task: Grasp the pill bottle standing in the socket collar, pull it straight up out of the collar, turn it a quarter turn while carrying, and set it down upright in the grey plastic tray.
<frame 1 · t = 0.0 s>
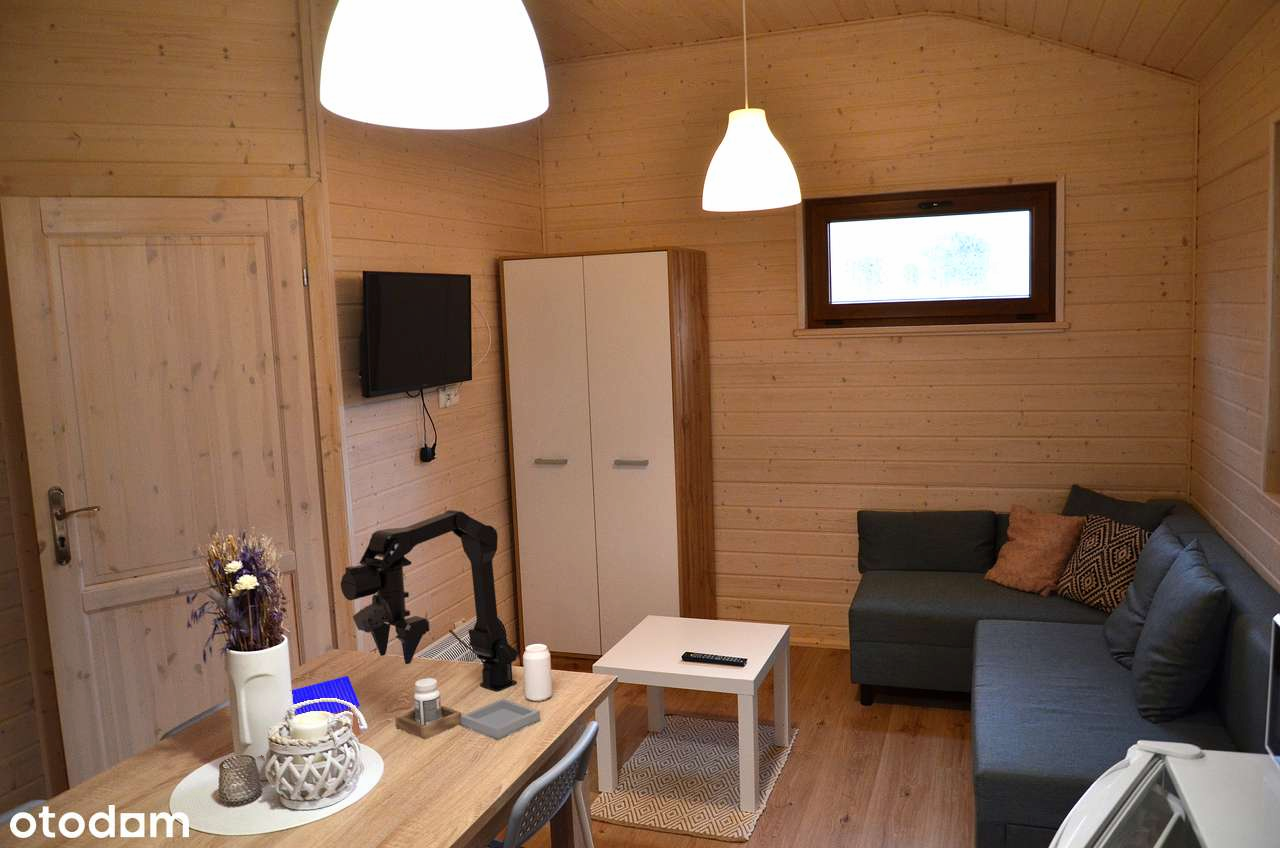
hand: (395, 659, 215), 15 cm above the table, tool pointing down, fingers open, 9 cm apart
tray: (500, 723, 214), on the table
socket collar: (429, 725, 215), on the table
beverage can: (538, 698, 228), on the table
blue ribbed roof: (306, 741, 210), on the table
pill bottle: (429, 727, 215), resting in socket collar
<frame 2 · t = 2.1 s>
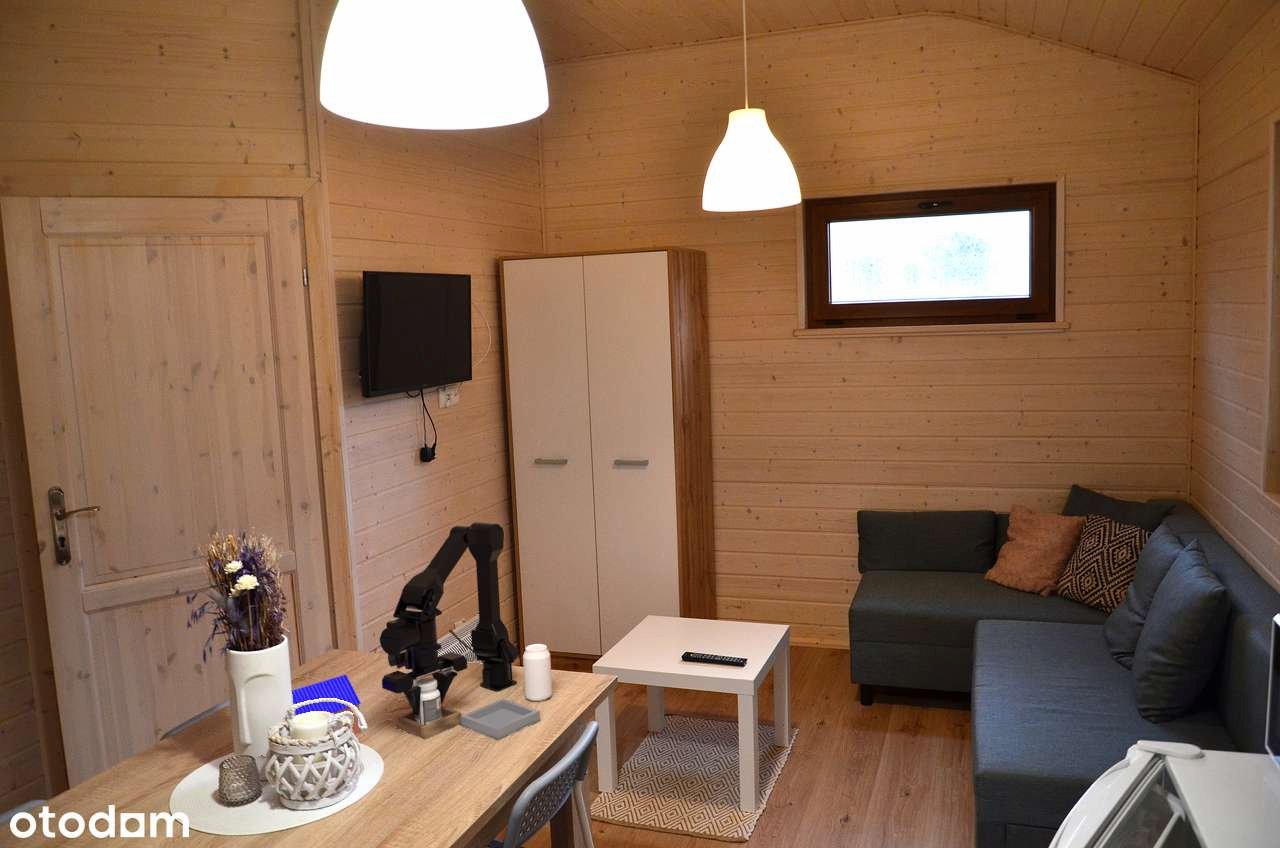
hand: (428, 710, 214), 4 cm above the table, tool pointing down, fingers closed on pill bottle, 6 cm apart
pill bottle: (429, 726, 215), resting in socket collar, touching gripper
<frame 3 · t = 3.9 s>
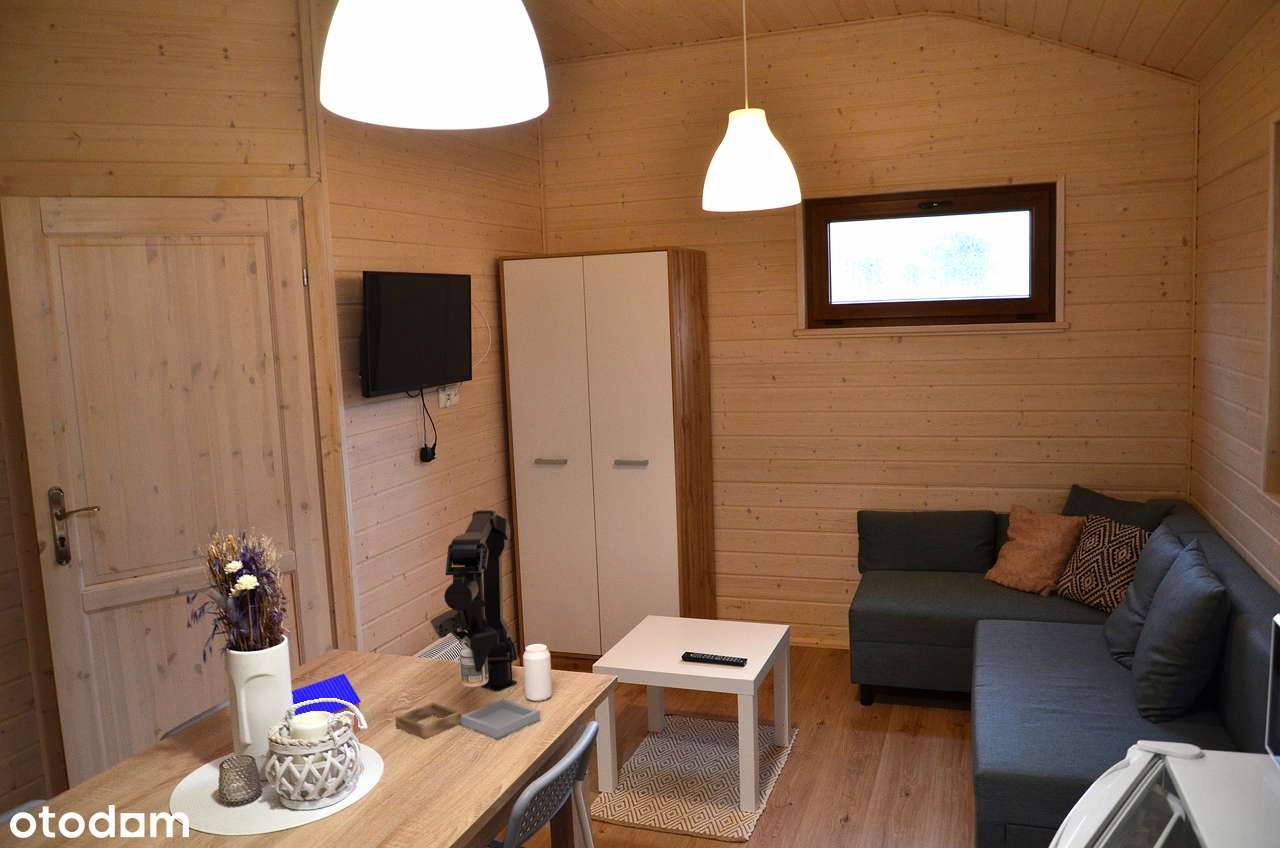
hand: (474, 667, 213), 13 cm above the table, tool pointing down, fingers closed on pill bottle, 6 cm apart
pill bottle: (475, 683, 214), point 9 cm above the table, touching gripper
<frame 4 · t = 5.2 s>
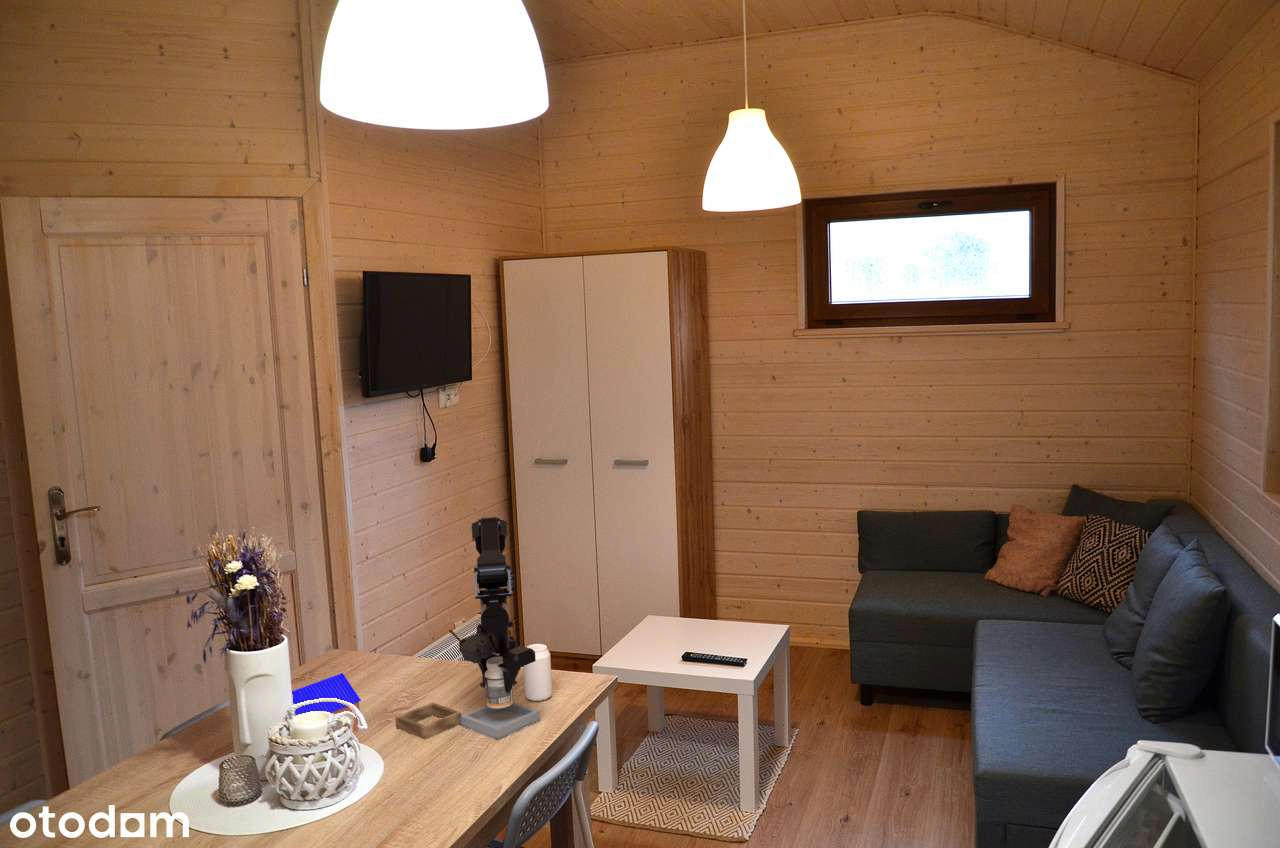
hand: (498, 688, 214), 8 cm above the table, tool pointing down, fingers closed on pill bottle, 6 cm apart
pill bottle: (500, 705, 214), point 4 cm above the table, touching gripper
when the fingers open (5 cm above the table, at t = 6.1 s): pill bottle drops 1 cm, resting on tray.
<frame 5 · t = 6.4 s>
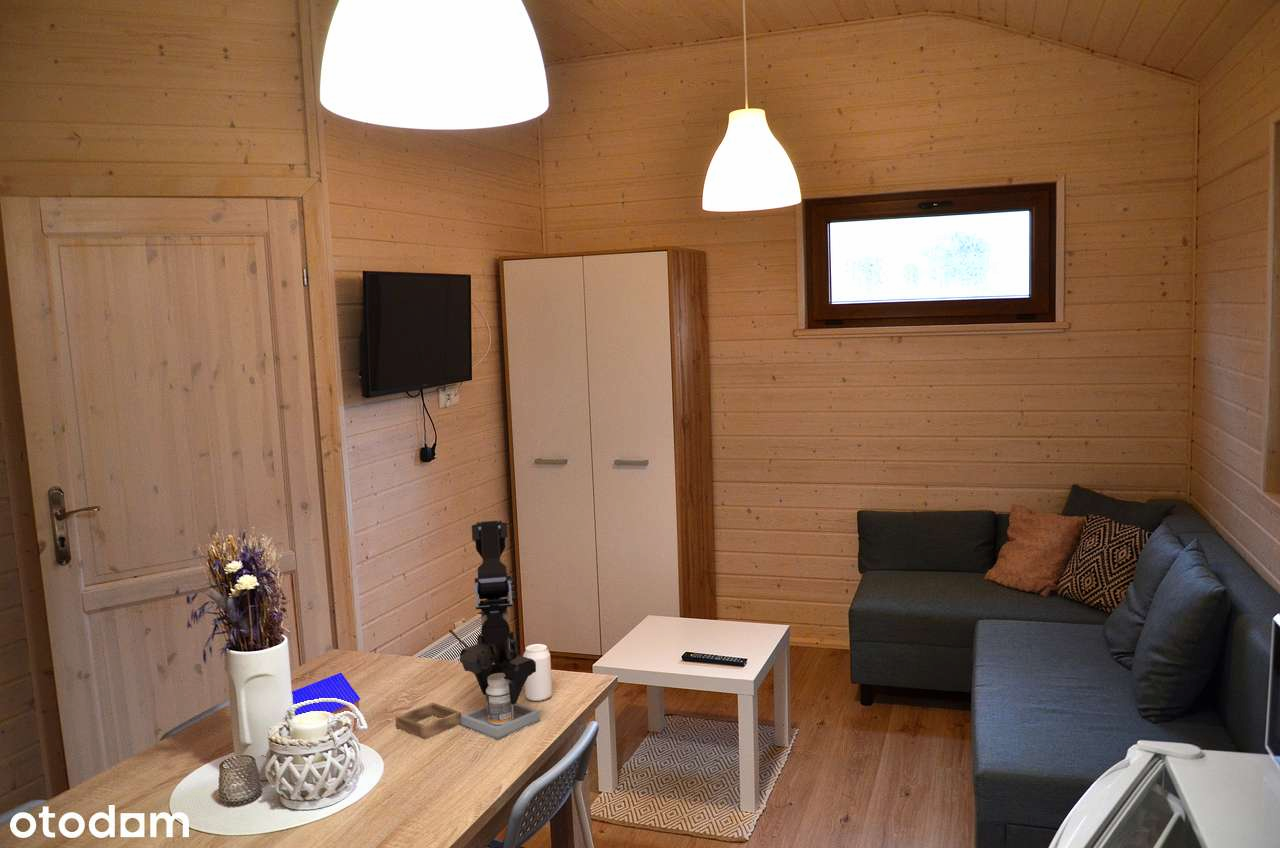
hand: (499, 699, 214), 5 cm above the table, tool pointing down, fingers open, 9 cm apart
pill bottle: (501, 721, 214), resting on tray
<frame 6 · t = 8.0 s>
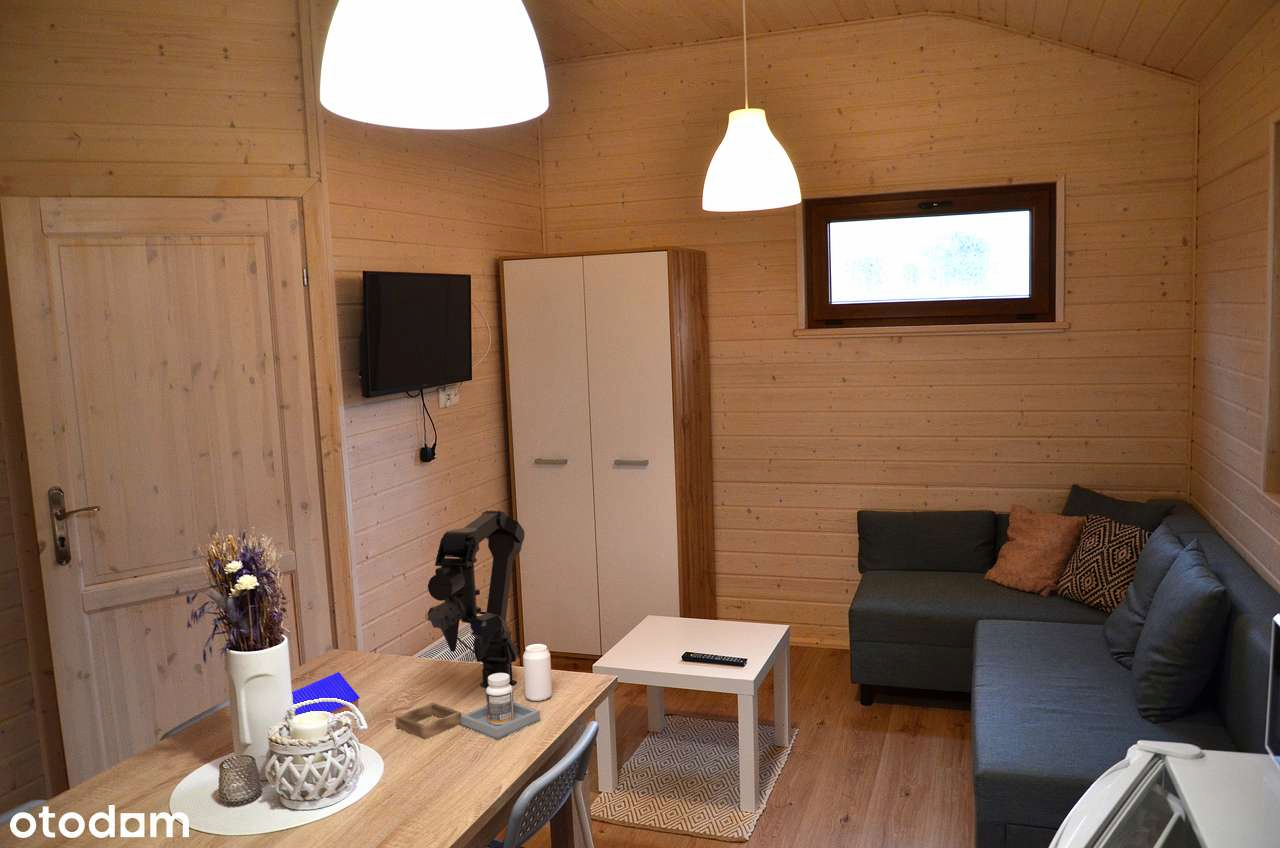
hand: (466, 655, 221), 13 cm above the table, tool pointing down, fingers open, 9 cm apart
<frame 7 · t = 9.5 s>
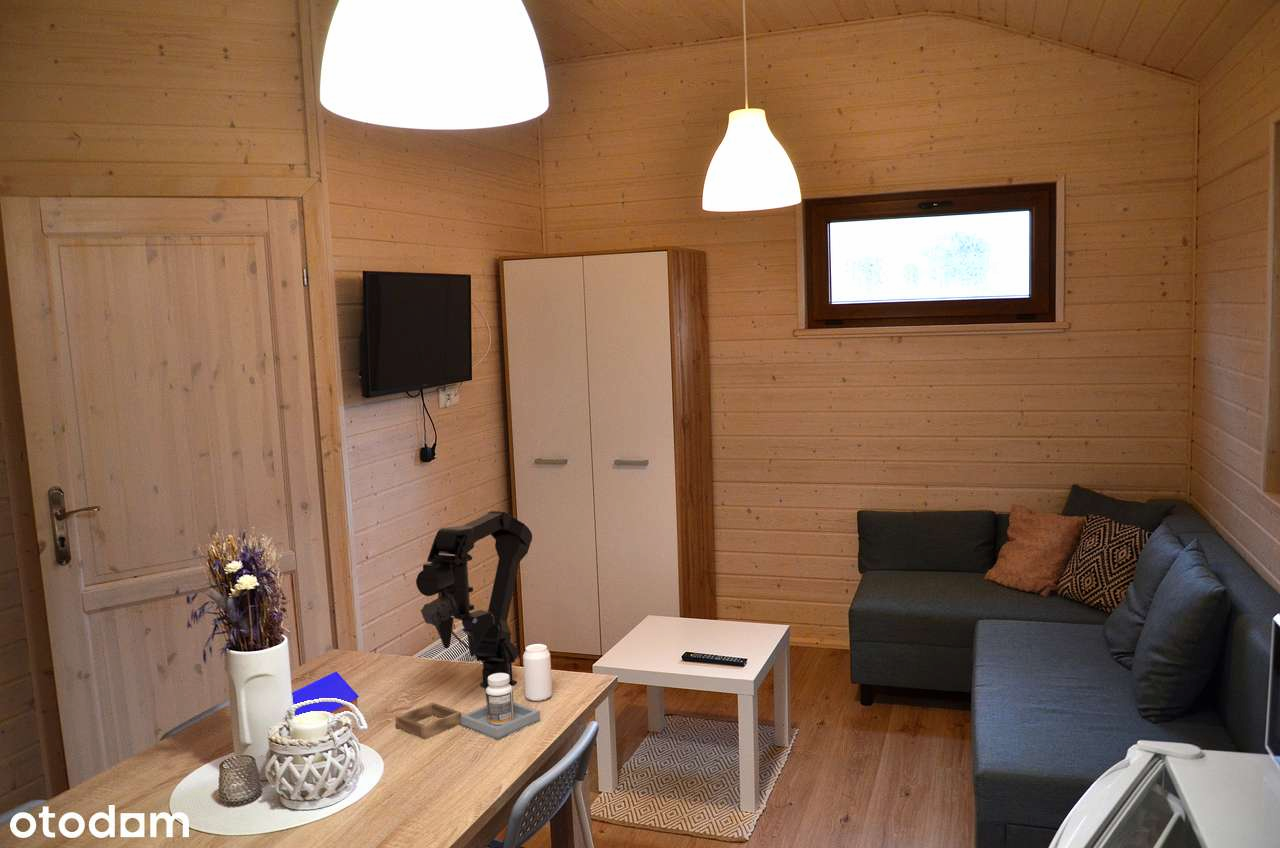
hand: (459, 651, 223), 13 cm above the table, tool pointing down, fingers open, 9 cm apart
at the end: pill bottle inside the target area on the tray (0.1 cm from its centre), point 0.4 cm above the tray's base; pill bottle tilted 0°; the gripper is holding nothing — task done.
